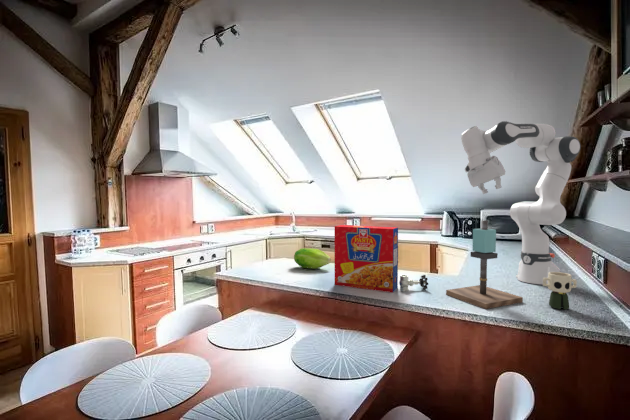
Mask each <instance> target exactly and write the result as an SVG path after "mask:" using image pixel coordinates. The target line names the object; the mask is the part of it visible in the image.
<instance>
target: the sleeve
mask: <svg viewBox="0 0 630 420" xmlns="http://www.w3.org/2000/svg"><path fill="white" fill-rule="evenodd" d="M496 243H497V229H495V228H494V229H493V228H492V229H491V228H488V230H481V228H472V251H471V252H474V251H477V252H482V253H490V252H493V253H497V252H496V248H497V244H496Z"/></svg>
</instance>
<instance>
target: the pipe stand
mask: <svg viewBox="0 0 630 420" xmlns="http://www.w3.org/2000/svg"><path fill="white" fill-rule="evenodd" d="M488 224H489V221H488V220H481V221H480V229H481V230H488V229H489V228H488ZM481 253H482V252H481ZM484 254H485V253H484ZM479 259H480V258H479ZM487 270H488V259H480V268H479V271H480V273H479V284H478V285H472V286H464V287H458V288H452V289H446V291H445V295H446V296H449V297H452V298H454V299H456V300H457V299H458V300H460V301H463V302H465V303H468V304H471V305H474V306H476V307H479V308H481V309H485V310H489V309H493V308H500V307H504V306H506V307H507V306H510V305H514V304H515V305H516V304H521V303H523V301H524V300H523V299H524V298H523V296H520V295H516V294H514V293H511V292H510V293H509V292H506V291H504V290H503V291H502V290H498V289H495V288H493V287H490V286H489V287H488V285H487V281H488V277H487V275H488V271H487Z"/></svg>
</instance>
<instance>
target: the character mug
mask: <svg viewBox="0 0 630 420" xmlns="http://www.w3.org/2000/svg"><path fill="white" fill-rule="evenodd" d="M572 276H573V275H572V274H570V273H566V272H561V271H560V272H549V273H548V278H543V285H542V286H543V287H547V288H548V290H550V291H551V292H550V295H549V300H548V305H549V307H551V308H553V309H558V310H561V308H562V309H563V310H569V309H570V301H569V295H568V294H567V293H570V292H571V291H572V289H576V288H577V287H578V286H577V283H578V281H577V279H575V278H572ZM546 280H548V284H546ZM572 282H573V285H572Z"/></svg>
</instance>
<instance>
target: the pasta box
mask: <svg viewBox="0 0 630 420" xmlns="http://www.w3.org/2000/svg"><path fill="white" fill-rule="evenodd" d="M398 262H399V227H398V226H396V227H395V226H394V227H393V226H377V225H376V226H375V225H374V226H373V225H352V224H351V225H350V224H339V225H334V285H335V286H339V287H340V286H341V287H347V288H356V289H362V290H369V291H378V292H384V293H385V292H386V293H394V292H395V291H396V290H397V289H398V288H399V287H398V285H399V282H398V280H399V279H398V278H399V277H398V276H399V275H398V274H399V271H398V269H399V263H398Z"/></svg>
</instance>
